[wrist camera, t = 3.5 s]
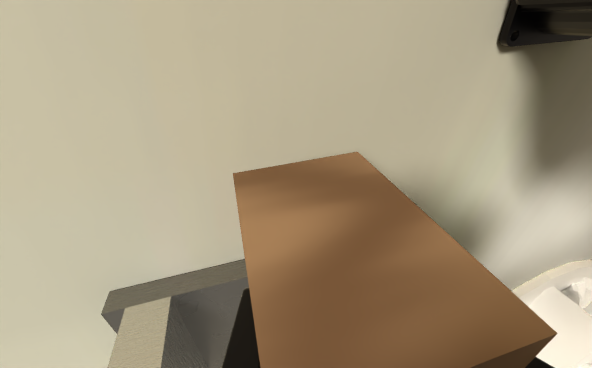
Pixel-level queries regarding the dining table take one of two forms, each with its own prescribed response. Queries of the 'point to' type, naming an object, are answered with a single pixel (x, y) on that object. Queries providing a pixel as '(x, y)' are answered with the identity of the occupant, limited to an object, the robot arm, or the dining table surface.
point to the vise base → (194, 302)
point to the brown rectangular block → (368, 277)
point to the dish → (563, 312)
